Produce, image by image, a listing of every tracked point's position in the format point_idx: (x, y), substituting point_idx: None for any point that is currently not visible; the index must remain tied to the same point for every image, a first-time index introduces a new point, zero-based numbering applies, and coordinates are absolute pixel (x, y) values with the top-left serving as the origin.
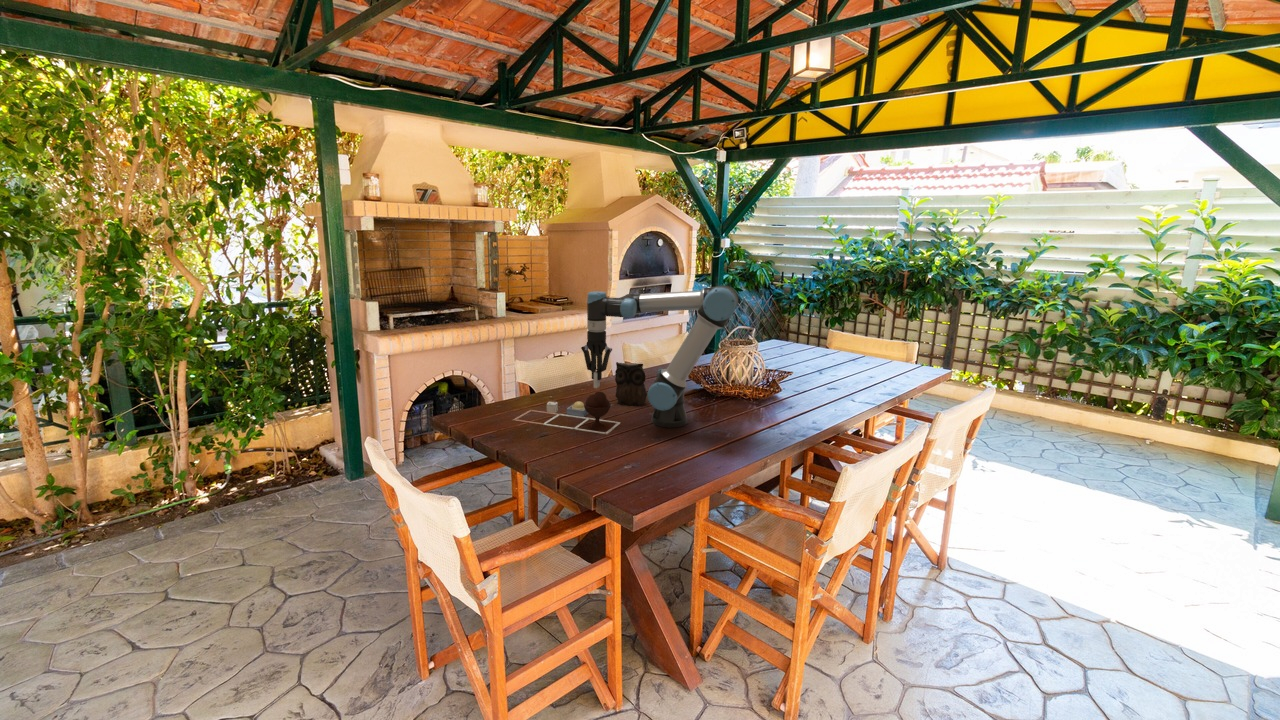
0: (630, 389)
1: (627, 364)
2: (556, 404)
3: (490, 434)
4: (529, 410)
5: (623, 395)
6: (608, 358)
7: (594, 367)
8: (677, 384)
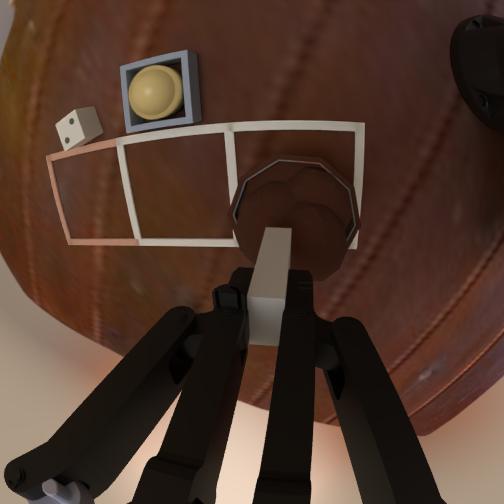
0: None
1: None
2: (82, 125)
3: (105, 327)
4: (47, 162)
5: None
6: (413, 443)
7: (224, 333)
8: None
